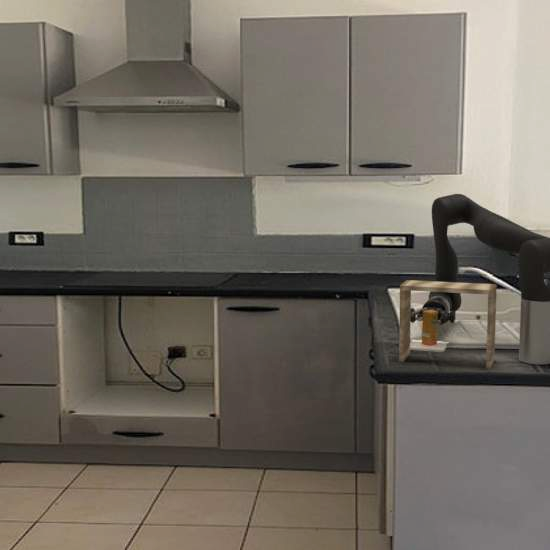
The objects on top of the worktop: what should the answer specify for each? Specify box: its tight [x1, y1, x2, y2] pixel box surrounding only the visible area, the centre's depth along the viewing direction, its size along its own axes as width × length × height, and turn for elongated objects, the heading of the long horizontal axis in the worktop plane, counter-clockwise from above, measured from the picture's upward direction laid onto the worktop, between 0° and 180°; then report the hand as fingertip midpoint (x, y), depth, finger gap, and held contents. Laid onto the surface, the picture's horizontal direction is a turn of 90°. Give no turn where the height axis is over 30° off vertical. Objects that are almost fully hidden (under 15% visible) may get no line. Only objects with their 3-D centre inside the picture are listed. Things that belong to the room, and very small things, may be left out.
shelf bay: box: [398, 279, 498, 370], centre depth 225 cm, size 24×9×21 cm, turn 70°
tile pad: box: [410, 342, 449, 353], centre depth 244 cm, size 11×11×1 cm
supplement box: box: [421, 310, 439, 346], centre depth 243 cm, size 3×3×10 cm
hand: (426, 320), depth 241 cm, fingers open, 8 cm apart
